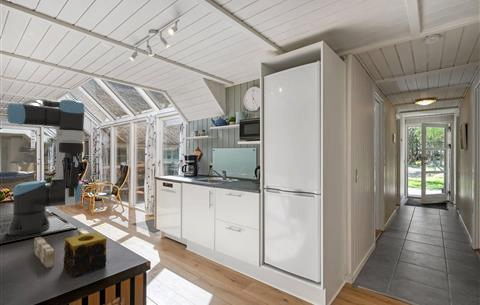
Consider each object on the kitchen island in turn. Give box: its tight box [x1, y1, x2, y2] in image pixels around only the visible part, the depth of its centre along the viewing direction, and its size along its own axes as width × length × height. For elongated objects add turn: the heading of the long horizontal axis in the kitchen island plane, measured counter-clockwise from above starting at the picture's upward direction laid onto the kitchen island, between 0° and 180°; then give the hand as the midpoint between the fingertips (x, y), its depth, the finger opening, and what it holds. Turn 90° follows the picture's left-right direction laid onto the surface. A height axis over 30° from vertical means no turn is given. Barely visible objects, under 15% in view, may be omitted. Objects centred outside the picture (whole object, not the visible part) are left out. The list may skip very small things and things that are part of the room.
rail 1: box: [33, 236, 55, 269], centre depth 86 cm, size 18×2×6 cm, turn 51°
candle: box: [62, 231, 108, 279], centre depth 81 cm, size 10×10×10 cm
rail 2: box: [76, 228, 90, 236], centre depth 97 cm, size 18×2×6 cm, turn 50°
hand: (70, 204), depth 90 cm, fingers closed
